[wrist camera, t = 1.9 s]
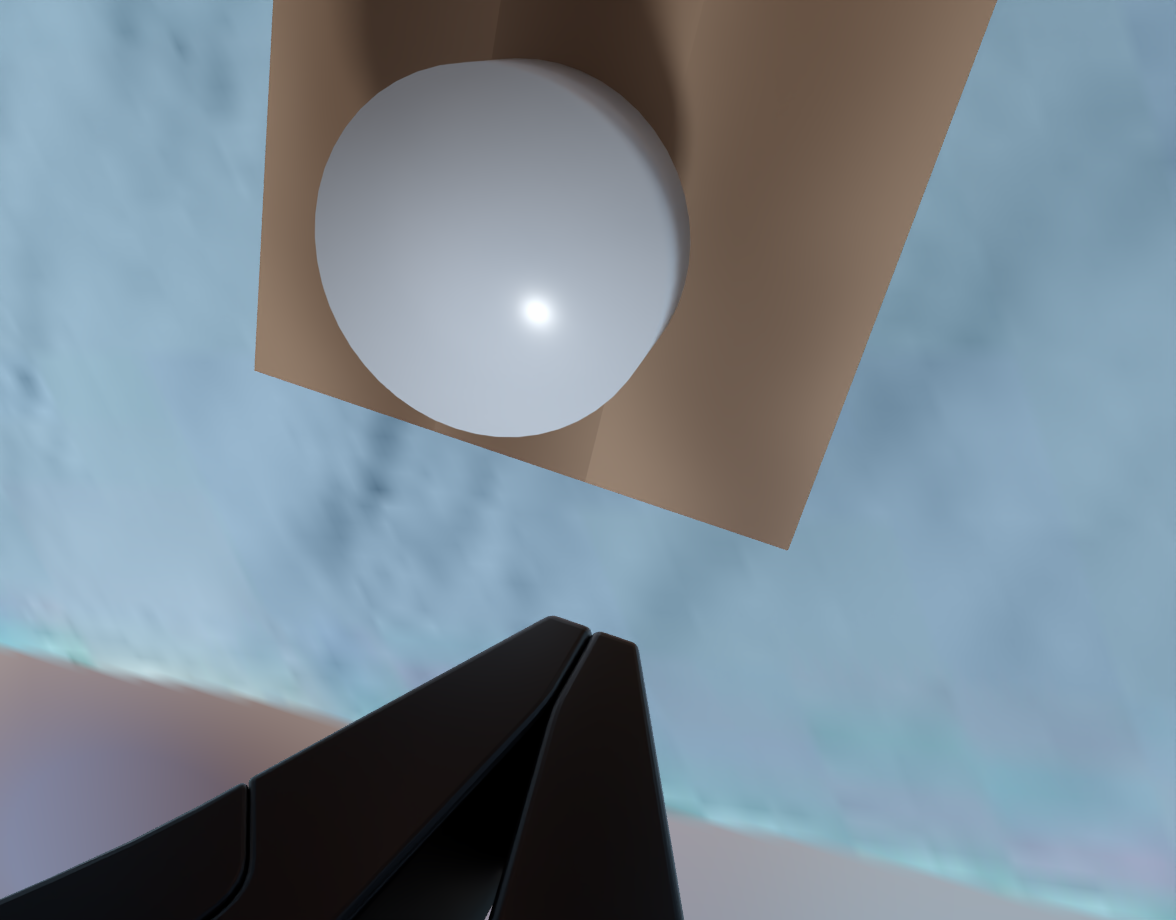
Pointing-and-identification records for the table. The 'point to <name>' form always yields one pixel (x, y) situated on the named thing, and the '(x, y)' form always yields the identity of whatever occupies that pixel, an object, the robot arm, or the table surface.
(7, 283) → the table surface
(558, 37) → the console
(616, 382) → the slate button
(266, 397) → the table surface
